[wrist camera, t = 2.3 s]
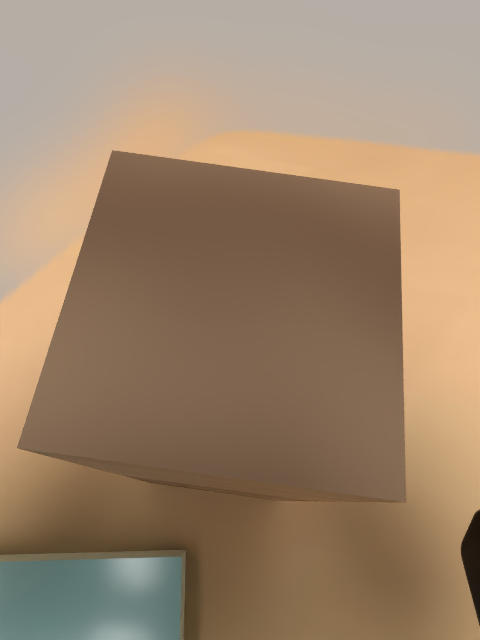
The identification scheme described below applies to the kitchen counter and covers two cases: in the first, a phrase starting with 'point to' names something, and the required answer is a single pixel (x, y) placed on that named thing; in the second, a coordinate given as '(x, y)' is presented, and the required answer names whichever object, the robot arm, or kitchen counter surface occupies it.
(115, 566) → the ceramic plinth
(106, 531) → the kitchen counter surface
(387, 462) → the walnut post
